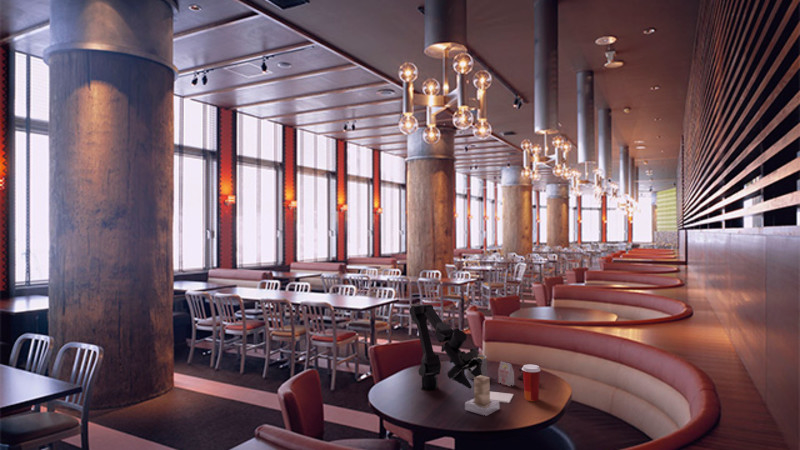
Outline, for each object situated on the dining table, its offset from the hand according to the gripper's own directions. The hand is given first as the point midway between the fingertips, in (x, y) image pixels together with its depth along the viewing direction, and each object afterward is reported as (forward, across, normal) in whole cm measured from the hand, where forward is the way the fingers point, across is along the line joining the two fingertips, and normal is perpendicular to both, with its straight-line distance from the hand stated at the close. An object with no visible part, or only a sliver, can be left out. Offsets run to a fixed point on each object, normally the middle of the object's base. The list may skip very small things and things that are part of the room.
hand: (477, 385), depth 201 cm
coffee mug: (-12, +36, +25) cm, 45 cm away
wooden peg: (+8, 0, +5) cm, 10 cm away
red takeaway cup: (+6, +44, +7) cm, 45 cm away
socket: (+8, 0, +5) cm, 10 cm away
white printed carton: (+1, +35, +12) cm, 37 cm away
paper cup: (+15, +24, -1) cm, 28 cm away
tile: (+5, +16, +8) cm, 19 cm away
